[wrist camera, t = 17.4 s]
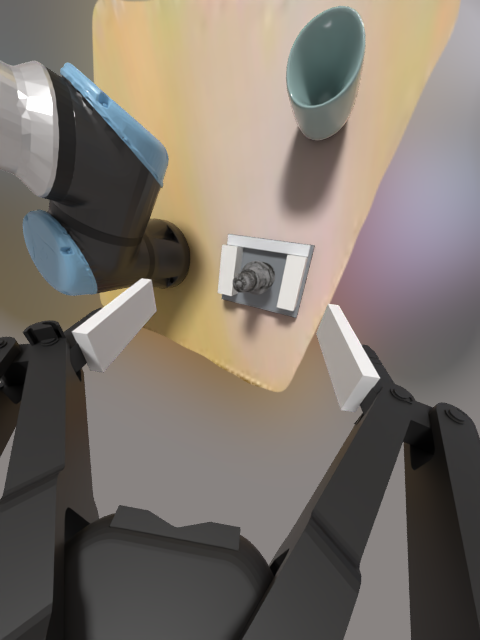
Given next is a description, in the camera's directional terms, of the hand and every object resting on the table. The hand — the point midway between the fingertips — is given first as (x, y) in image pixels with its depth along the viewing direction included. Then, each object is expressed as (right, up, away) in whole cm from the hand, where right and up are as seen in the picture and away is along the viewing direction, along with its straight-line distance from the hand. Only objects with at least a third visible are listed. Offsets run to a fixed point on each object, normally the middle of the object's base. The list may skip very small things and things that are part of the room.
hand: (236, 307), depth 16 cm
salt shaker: (+4, +7, +24) cm, 25 cm away
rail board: (+5, +8, +25) cm, 26 cm away
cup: (+13, +29, +14) cm, 35 cm away
